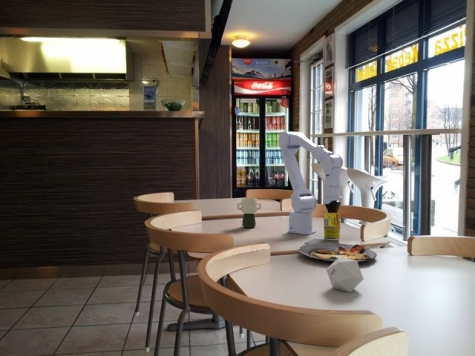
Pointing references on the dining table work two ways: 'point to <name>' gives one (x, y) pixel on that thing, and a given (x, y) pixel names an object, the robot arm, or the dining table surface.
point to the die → (344, 274)
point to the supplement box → (331, 225)
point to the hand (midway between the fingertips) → (332, 220)
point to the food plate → (337, 252)
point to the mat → (320, 241)
